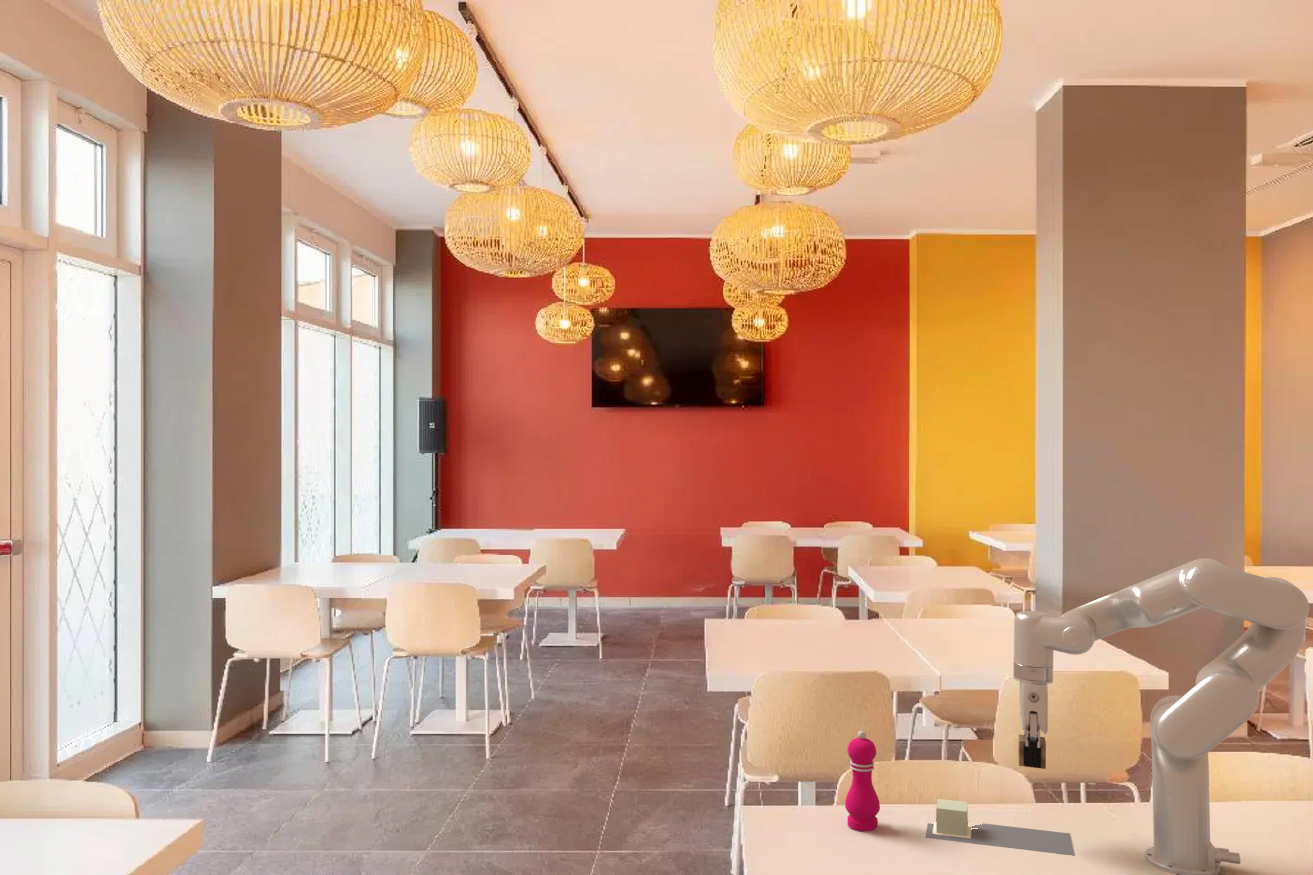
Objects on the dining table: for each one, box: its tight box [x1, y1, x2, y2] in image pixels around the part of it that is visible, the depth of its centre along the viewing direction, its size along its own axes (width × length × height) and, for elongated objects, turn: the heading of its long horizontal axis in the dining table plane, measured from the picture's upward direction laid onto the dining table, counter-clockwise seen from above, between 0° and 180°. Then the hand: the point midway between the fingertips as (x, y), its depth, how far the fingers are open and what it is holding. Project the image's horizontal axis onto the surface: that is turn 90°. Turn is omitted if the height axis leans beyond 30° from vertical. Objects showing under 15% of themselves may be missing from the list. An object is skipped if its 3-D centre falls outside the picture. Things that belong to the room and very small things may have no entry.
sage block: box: [935, 798, 969, 836], centre depth 197 cm, size 6×6×5 cm
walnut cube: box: [1017, 734, 1047, 770], centre depth 192 cm, size 5×5×5 cm
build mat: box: [925, 822, 1076, 857], centre depth 194 cm, size 28×12×1 cm, turn 71°
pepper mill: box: [844, 730, 881, 833], centre depth 200 cm, size 7×7×20 cm
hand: (1031, 761), depth 192 cm, fingers closed on walnut cube, 4 cm apart
